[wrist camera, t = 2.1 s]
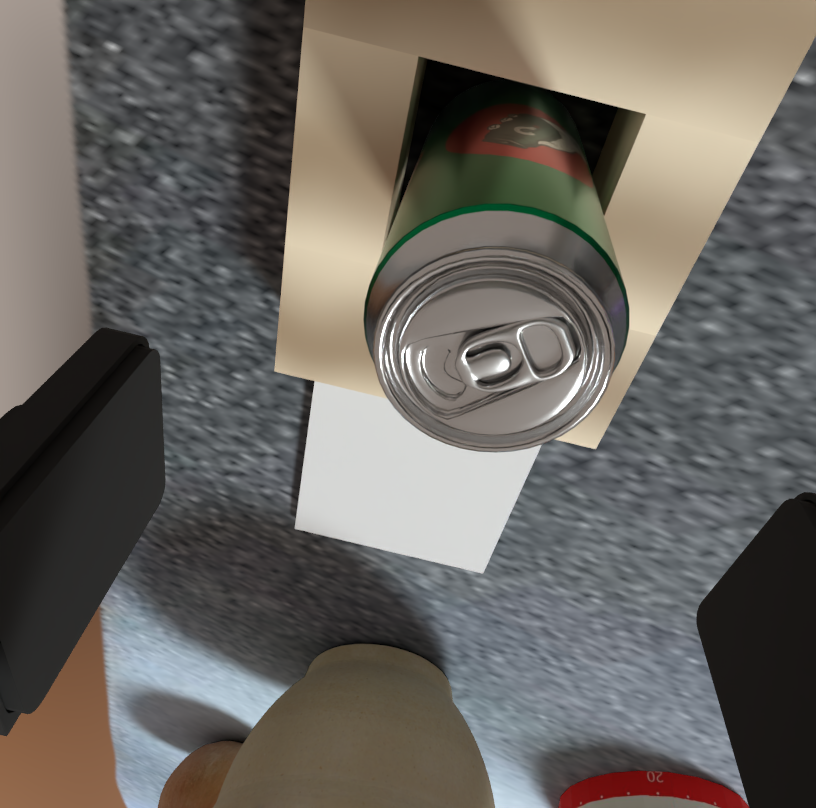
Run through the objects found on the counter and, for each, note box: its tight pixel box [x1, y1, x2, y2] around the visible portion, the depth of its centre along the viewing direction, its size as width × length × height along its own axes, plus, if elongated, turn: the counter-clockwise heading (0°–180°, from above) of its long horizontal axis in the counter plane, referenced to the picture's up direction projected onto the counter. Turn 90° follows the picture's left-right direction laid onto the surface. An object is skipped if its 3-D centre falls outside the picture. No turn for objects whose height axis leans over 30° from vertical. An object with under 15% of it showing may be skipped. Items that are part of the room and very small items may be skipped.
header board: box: [275, 0, 816, 449], centre depth 19 cm, size 16×12×4 cm
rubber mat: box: [295, 381, 541, 573], centre depth 30 cm, size 10×10×1 cm
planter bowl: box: [213, 644, 495, 808], centre depth 38 cm, size 16×16×11 cm
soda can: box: [363, 80, 630, 453], centre depth 16 cm, size 5×5×12 cm
